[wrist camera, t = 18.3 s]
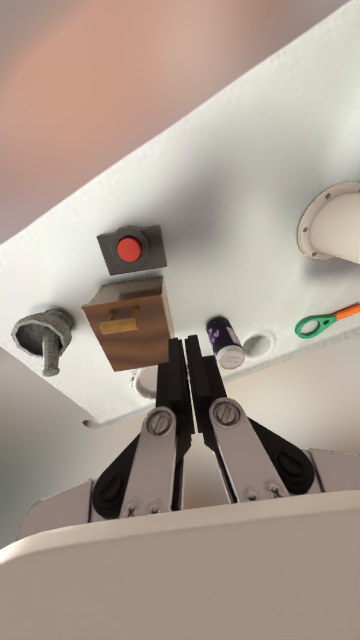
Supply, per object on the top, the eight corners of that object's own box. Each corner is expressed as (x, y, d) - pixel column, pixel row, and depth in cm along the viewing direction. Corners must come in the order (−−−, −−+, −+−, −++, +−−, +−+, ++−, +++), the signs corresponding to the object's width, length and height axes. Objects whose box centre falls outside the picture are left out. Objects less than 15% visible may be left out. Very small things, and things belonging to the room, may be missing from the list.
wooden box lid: (82, 304, 30) (68, 324, 25) (161, 292, 29) (160, 310, 25) (115, 368, 38) (108, 392, 34) (175, 359, 38) (177, 382, 34)
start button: (138, 235, 31) (136, 237, 30) (143, 257, 33) (142, 259, 32) (117, 238, 31) (114, 240, 30) (123, 260, 33) (121, 263, 32)
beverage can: (210, 313, 44) (223, 346, 34) (232, 317, 45) (252, 351, 35) (202, 332, 47) (212, 368, 36) (223, 336, 48) (239, 372, 38)
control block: (159, 220, 33) (158, 222, 30) (166, 264, 37) (166, 269, 34) (97, 230, 33) (91, 233, 30) (112, 273, 37) (107, 279, 34)
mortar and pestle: (23, 316, 41) (-24, 353, 31) (52, 294, 39) (12, 327, 29) (65, 348, 47) (37, 389, 36) (93, 331, 44) (71, 369, 34)
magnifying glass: (296, 339, 50) (300, 343, 48) (292, 323, 47) (296, 327, 45) (358, 314, 47) (364, 317, 45) (358, 294, 44) (364, 298, 42)
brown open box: (102, 285, 39) (86, 306, 31) (162, 275, 38) (162, 294, 30) (123, 340, 46) (115, 368, 39) (174, 332, 46) (175, 359, 38)
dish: (127, 376, 53) (124, 391, 49) (154, 344, 48) (153, 358, 43) (169, 393, 58) (169, 408, 54) (197, 366, 53) (200, 381, 49)
